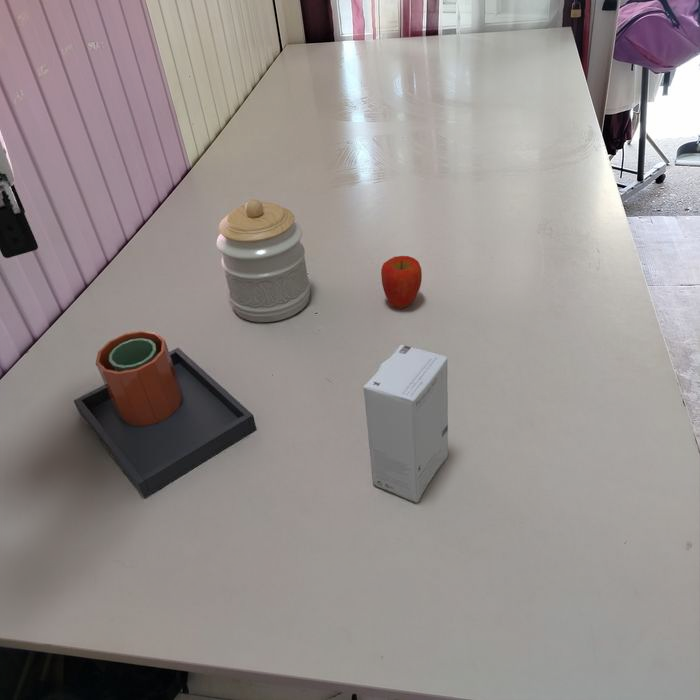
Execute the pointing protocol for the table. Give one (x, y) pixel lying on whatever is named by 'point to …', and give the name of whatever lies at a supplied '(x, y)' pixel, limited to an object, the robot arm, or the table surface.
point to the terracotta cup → (142, 383)
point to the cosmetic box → (407, 420)
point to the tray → (169, 428)
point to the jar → (264, 262)
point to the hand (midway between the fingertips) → (15, 234)
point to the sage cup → (132, 354)
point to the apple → (401, 280)
